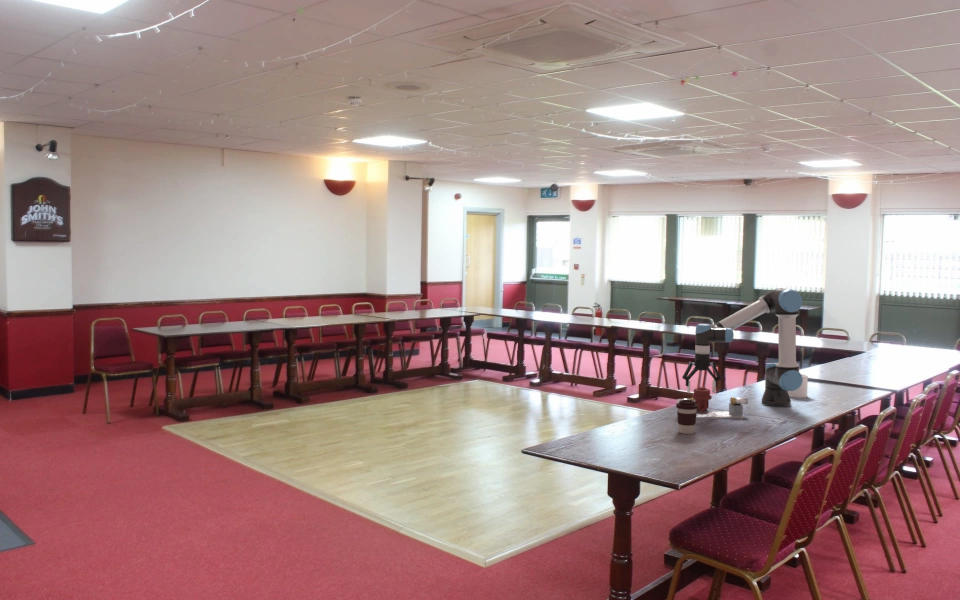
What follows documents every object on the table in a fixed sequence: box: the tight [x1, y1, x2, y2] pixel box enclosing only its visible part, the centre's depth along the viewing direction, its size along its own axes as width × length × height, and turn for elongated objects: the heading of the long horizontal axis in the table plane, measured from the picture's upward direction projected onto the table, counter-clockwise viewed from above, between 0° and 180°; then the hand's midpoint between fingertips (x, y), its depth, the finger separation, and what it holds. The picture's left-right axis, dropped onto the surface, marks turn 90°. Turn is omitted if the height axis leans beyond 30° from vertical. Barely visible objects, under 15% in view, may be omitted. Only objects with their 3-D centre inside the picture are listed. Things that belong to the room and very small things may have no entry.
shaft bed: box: [676, 396, 749, 420], centre depth 389 cm, size 36×12×10 cm, turn 92°
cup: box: [788, 373, 809, 399], centre depth 440 cm, size 12×12×12 cm
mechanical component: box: [691, 386, 712, 412], centre depth 403 cm, size 12×10×10 cm
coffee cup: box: [675, 400, 698, 435], centre depth 355 cm, size 10×10×15 cm
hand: (701, 392), depth 403 cm, fingers open, 13 cm apart
